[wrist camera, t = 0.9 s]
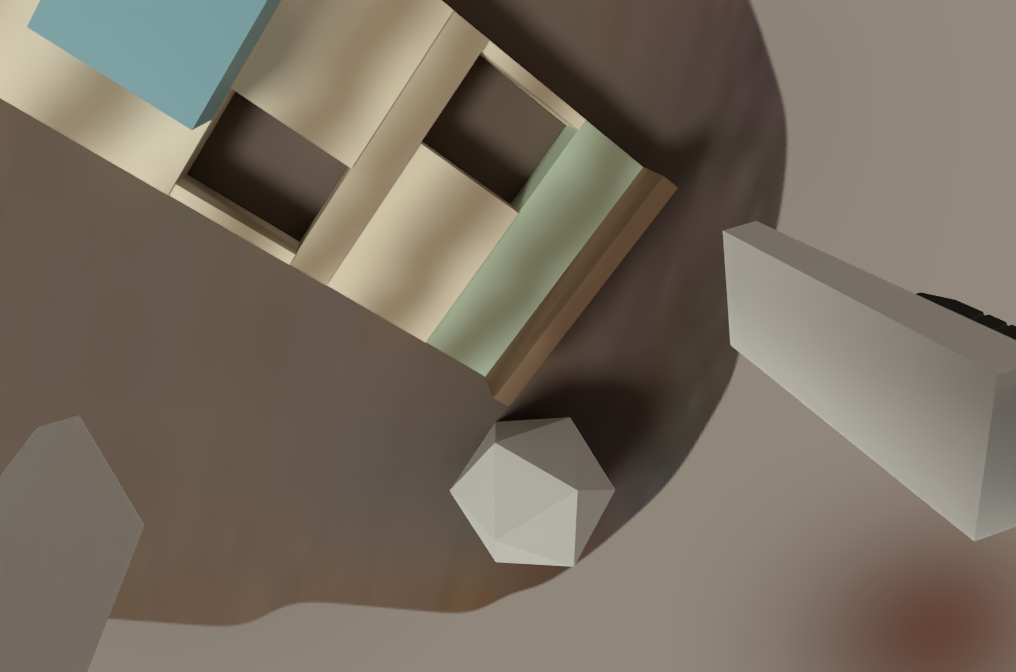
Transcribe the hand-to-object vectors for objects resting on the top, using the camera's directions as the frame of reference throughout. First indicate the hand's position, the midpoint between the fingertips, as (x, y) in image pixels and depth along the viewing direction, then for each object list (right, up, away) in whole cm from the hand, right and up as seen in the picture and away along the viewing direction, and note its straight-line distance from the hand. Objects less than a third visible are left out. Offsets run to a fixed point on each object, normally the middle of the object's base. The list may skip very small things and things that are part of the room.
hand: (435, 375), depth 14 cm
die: (+2, -7, +29) cm, 30 cm away
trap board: (-6, +11, +19) cm, 23 cm away
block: (-12, +14, +14) cm, 23 cm away
